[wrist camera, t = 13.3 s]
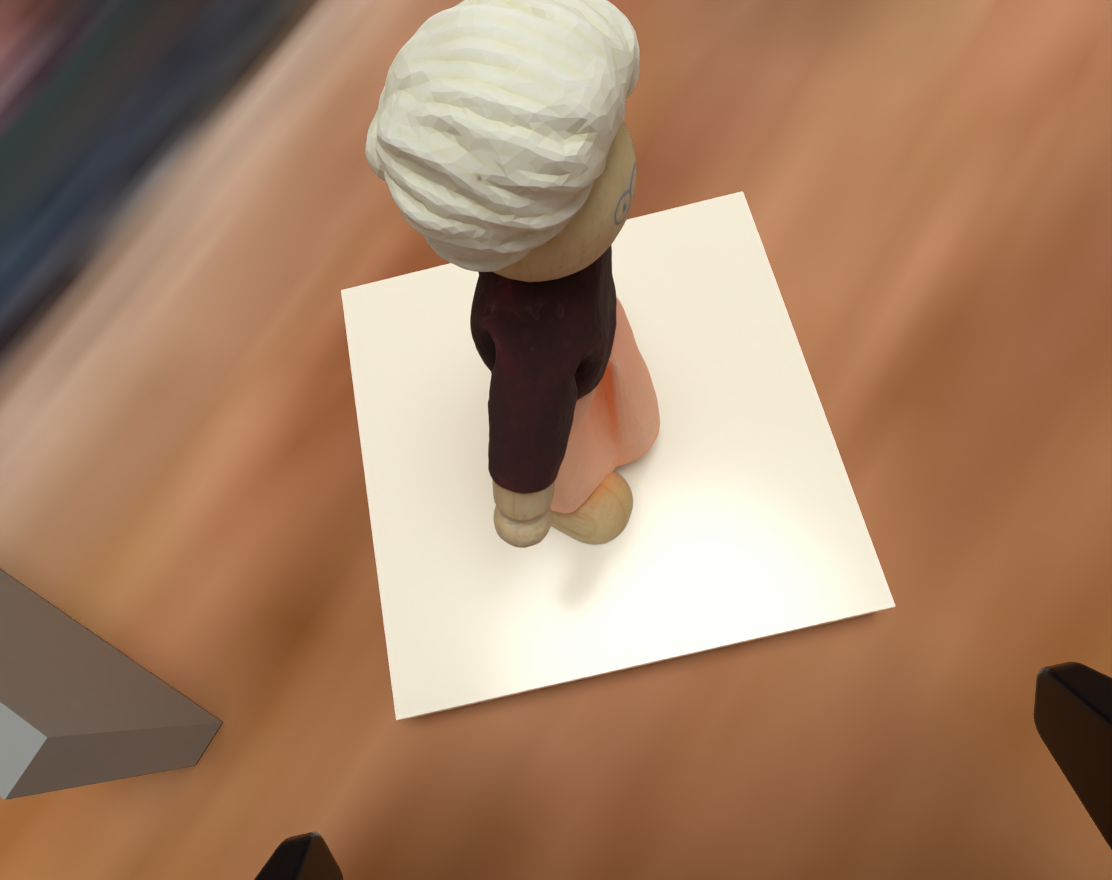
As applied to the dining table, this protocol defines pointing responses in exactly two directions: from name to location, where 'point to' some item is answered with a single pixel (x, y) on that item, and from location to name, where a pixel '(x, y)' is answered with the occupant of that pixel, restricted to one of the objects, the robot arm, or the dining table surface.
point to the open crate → (82, 705)
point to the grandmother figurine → (531, 240)
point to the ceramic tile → (655, 478)
